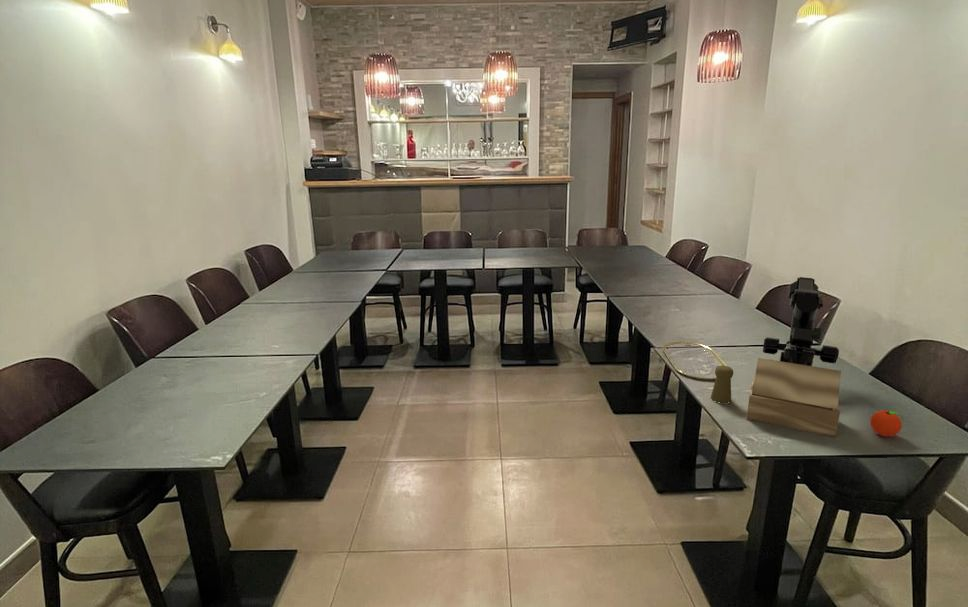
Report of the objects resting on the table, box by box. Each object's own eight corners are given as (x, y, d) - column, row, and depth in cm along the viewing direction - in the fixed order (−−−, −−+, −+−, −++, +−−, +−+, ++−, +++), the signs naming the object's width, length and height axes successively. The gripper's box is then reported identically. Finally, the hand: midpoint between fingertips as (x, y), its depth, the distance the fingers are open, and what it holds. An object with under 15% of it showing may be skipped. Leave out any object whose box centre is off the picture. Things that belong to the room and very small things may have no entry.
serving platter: (704, 345, 214) (705, 341, 214) (737, 382, 181) (738, 378, 180) (657, 344, 216) (657, 341, 215) (681, 381, 182) (681, 377, 182)
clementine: (889, 427, 150) (894, 404, 148) (909, 440, 144) (915, 417, 142) (861, 428, 150) (866, 405, 148) (880, 441, 143) (885, 417, 141)
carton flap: (757, 358, 157) (757, 357, 157) (840, 371, 148) (841, 370, 147) (752, 393, 154) (752, 393, 153) (837, 409, 144) (837, 409, 144)
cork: (713, 393, 172) (717, 361, 169) (733, 398, 169) (737, 366, 166) (707, 400, 168) (711, 367, 165) (728, 405, 164) (732, 372, 161)
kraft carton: (749, 402, 166) (752, 379, 164) (832, 418, 156) (837, 394, 154) (746, 418, 156) (749, 395, 154) (835, 437, 146) (840, 412, 144)
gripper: (768, 311, 157) (761, 359, 151) (844, 320, 148) (839, 371, 142) (766, 328, 165) (759, 374, 159) (837, 338, 157) (833, 387, 151)
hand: (796, 376), depth 153 cm, fingers closed, pressing on carton flap
